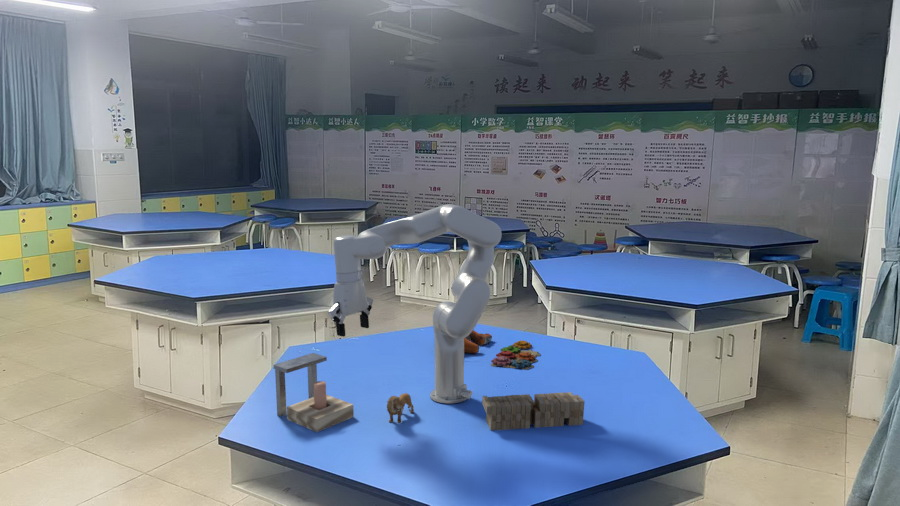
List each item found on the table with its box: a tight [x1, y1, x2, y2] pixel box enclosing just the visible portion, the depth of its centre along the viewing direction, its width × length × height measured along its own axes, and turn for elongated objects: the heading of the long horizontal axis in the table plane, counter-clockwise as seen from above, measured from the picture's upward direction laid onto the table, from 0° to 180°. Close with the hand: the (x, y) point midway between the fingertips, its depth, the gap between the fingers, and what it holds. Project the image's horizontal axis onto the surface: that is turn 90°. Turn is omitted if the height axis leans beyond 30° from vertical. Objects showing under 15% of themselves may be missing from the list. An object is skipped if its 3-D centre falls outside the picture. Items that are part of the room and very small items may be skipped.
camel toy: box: [464, 329, 493, 354], centre depth 264 cm, size 25×13×17 cm
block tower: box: [481, 391, 585, 431], centre depth 191 cm, size 8×8×29 cm
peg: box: [314, 380, 327, 410], centre depth 194 cm, size 4×4×11 cm
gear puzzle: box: [490, 340, 542, 371], centre depth 254 cm, size 31×16×4 cm, turn 162°
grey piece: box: [273, 352, 328, 418], centre depth 199 cm, size 6×15×16 cm, turn 140°
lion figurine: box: [386, 392, 415, 424], centre depth 195 cm, size 15×5×9 cm, turn 165°
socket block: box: [286, 394, 355, 433], centre depth 195 cm, size 14×14×4 cm
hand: (353, 331), depth 197 cm, fingers open, 9 cm apart
